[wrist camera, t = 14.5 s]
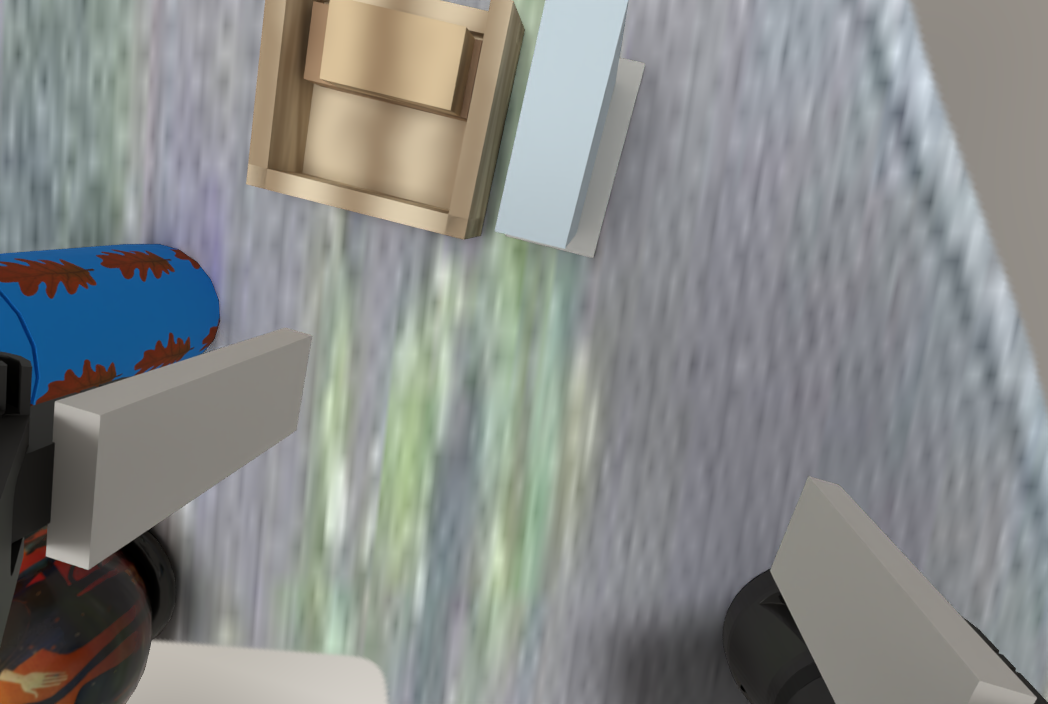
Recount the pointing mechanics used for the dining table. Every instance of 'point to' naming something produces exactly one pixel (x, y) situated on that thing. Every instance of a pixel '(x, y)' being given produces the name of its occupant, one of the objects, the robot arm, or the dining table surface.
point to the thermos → (103, 313)
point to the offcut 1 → (313, 76)
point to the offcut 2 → (396, 55)
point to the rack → (382, 126)
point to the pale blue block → (562, 119)
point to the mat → (606, 159)
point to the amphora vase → (84, 624)
